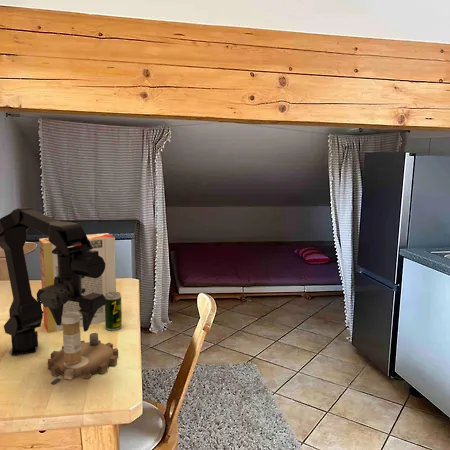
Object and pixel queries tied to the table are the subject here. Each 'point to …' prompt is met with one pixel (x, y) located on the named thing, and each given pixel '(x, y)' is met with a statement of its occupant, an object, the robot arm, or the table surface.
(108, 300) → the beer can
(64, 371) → the brown gear wheel
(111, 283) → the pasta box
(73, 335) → the sprinkles bottle
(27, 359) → the table surface
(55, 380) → the index mark
